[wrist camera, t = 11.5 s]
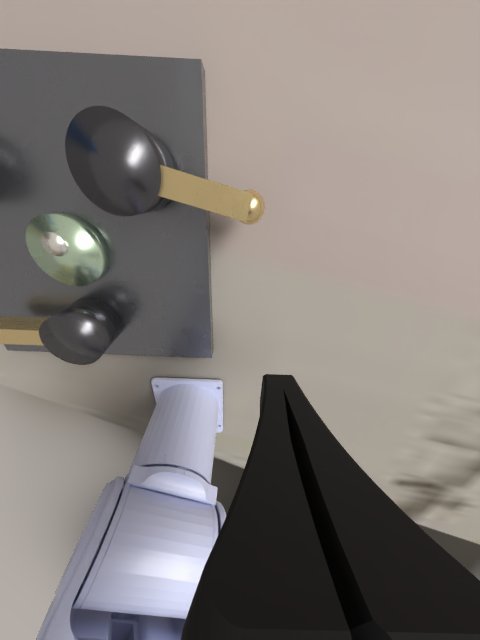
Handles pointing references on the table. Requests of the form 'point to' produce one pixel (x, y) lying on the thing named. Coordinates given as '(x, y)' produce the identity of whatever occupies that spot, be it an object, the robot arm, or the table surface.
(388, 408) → the table surface
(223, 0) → the table surface
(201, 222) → the dark grey square plate
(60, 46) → the table surface
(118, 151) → the knob
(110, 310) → the knob
